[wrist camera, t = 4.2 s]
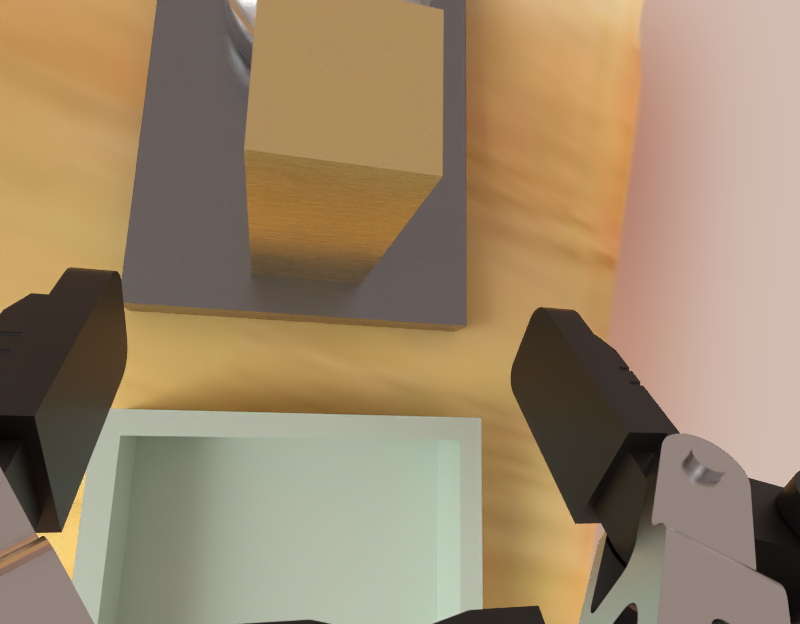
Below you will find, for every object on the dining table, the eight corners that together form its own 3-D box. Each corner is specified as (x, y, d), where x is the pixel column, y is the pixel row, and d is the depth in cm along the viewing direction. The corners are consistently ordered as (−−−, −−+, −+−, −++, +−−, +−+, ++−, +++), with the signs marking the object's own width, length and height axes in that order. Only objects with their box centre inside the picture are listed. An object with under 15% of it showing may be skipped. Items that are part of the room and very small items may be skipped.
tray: (74, 810, 17) (29, 903, 14) (122, 409, 20) (95, 408, 17) (447, 760, 20) (484, 827, 17) (448, 417, 23) (481, 417, 20)
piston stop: (251, 274, 20) (244, 150, 11) (259, 171, 21) (259, -30, 12) (361, 283, 21) (442, 176, 12) (365, 184, 22) (443, 9, 13)
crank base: (128, 310, 21) (11, 213, 11) (177, -87, 24) (122, -428, 14) (453, 331, 24) (588, 270, 14) (454, -24, 27) (562, -269, 17)
